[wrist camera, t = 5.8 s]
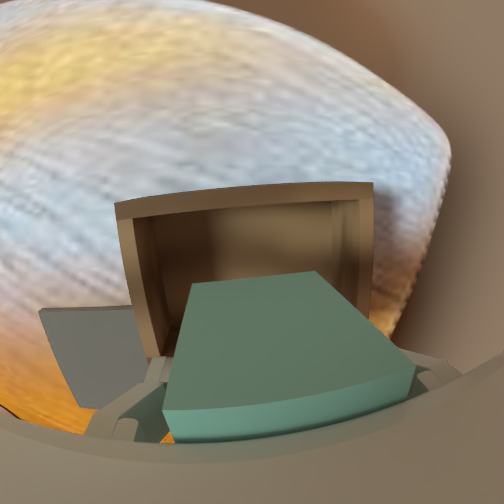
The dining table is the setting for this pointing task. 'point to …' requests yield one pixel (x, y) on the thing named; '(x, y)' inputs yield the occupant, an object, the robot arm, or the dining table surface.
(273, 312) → the block
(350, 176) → the dining table surface
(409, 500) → the robot arm
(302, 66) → the dining table surface
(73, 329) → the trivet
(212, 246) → the crate
